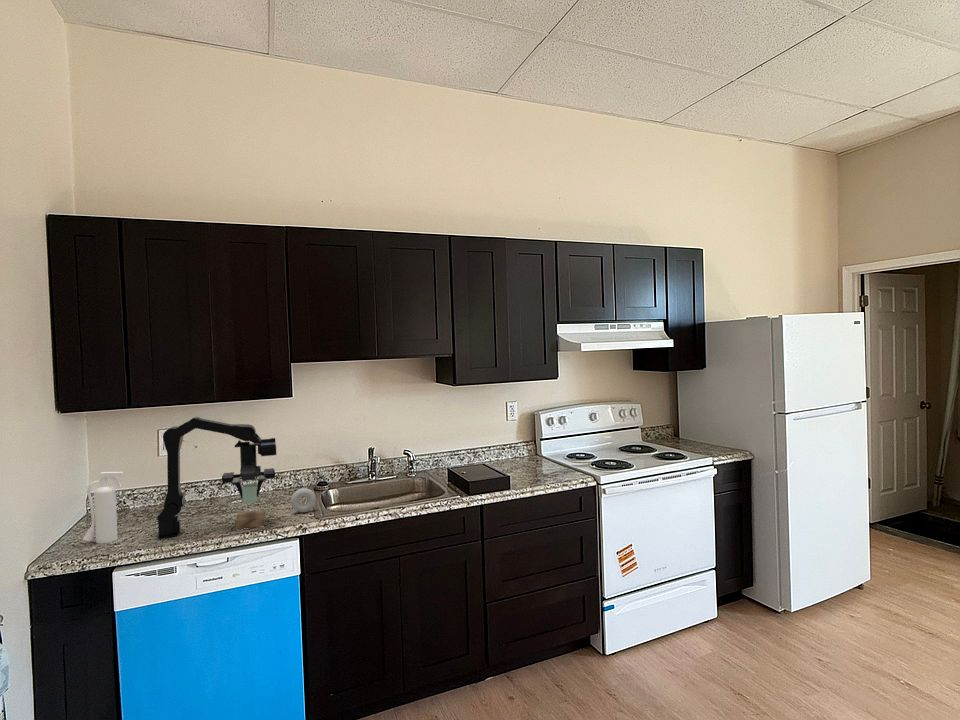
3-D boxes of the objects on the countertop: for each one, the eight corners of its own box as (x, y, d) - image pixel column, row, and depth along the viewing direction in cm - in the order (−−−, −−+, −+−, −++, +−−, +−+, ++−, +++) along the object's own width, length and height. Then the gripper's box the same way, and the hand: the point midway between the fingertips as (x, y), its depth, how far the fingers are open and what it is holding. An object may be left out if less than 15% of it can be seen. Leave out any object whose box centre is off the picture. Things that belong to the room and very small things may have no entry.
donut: (316, 509, 226) (315, 485, 226) (316, 511, 223) (315, 487, 223) (290, 512, 222) (290, 488, 222) (291, 515, 219) (290, 490, 219)
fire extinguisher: (85, 540, 195) (84, 472, 195) (124, 535, 201) (124, 469, 200) (80, 546, 189) (80, 476, 189) (121, 541, 195) (121, 473, 194)
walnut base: (235, 531, 202) (235, 520, 202) (238, 523, 212) (237, 513, 212) (264, 527, 206) (263, 517, 206) (265, 520, 215) (265, 510, 215)
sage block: (242, 503, 205) (242, 487, 205) (243, 499, 210) (242, 484, 210) (256, 501, 207) (256, 486, 207) (257, 498, 212) (256, 483, 212)
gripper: (220, 464, 197) (221, 506, 198) (274, 458, 204) (276, 499, 205) (222, 458, 208) (223, 498, 208) (274, 453, 215) (275, 492, 215)
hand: (249, 497), depth 209 cm, fingers closed on sage block, 5 cm apart
